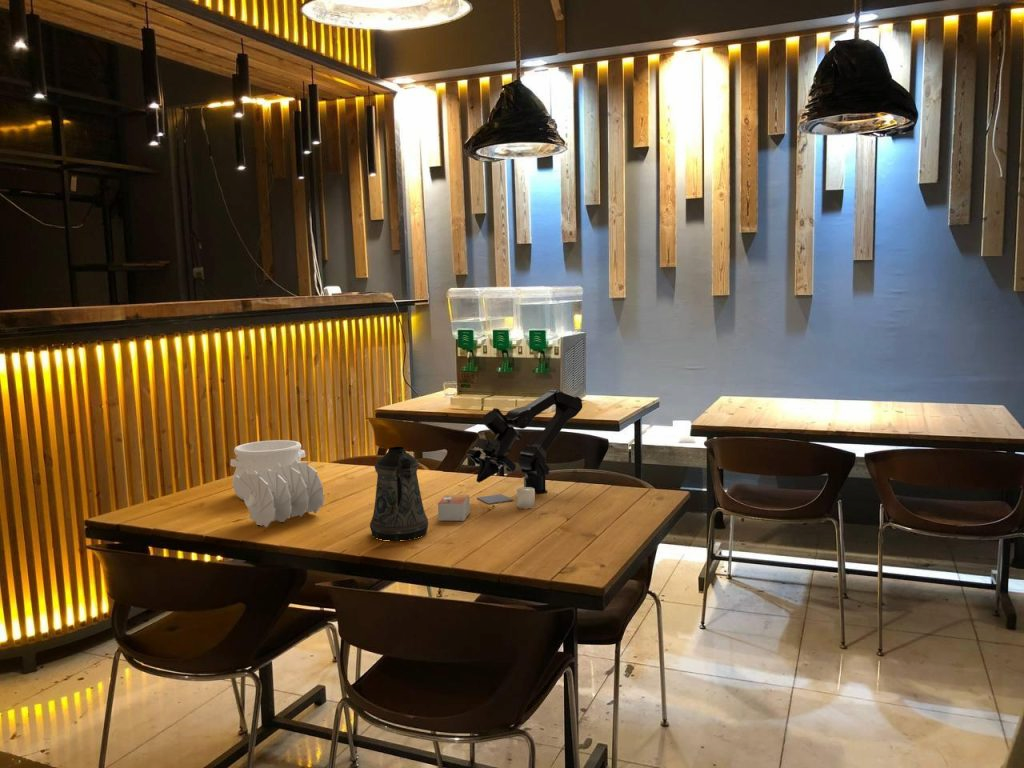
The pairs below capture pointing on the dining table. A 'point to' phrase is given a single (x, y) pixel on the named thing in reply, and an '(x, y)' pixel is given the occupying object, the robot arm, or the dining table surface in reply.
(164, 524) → the dining table surface
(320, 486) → the spiral staircase
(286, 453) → the pot
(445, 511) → the small box
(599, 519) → the dining table surface
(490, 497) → the slate coaster
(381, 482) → the beer stein
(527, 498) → the espresso cup
